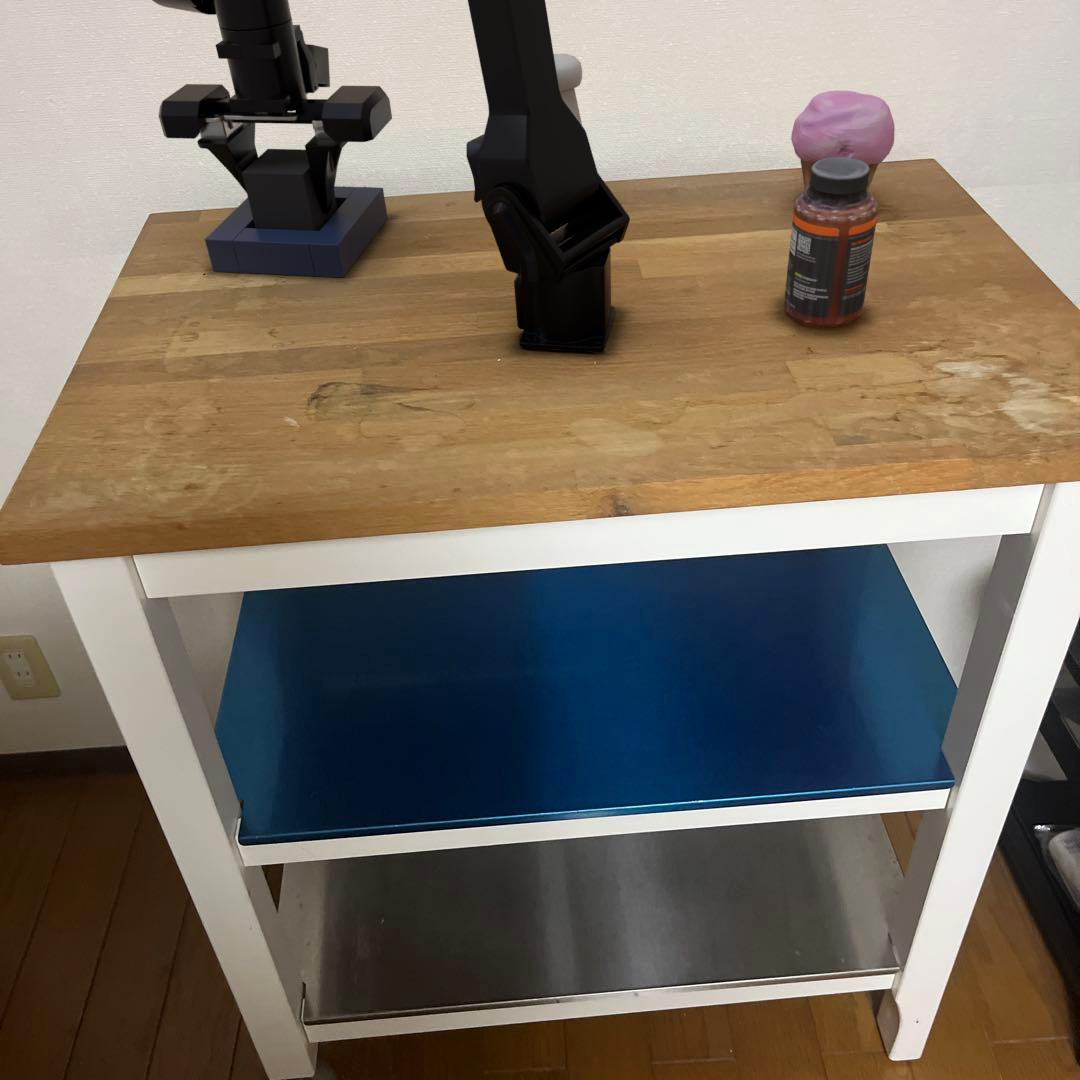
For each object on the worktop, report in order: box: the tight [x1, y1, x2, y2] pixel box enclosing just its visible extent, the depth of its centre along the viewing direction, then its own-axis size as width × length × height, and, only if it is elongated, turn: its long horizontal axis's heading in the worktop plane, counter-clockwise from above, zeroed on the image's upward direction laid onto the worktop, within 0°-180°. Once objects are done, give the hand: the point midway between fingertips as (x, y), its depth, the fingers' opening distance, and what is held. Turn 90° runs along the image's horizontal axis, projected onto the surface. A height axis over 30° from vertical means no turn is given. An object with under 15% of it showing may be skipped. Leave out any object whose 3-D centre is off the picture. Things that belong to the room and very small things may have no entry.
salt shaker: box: [553, 53, 583, 126], centre depth 94 cm, size 6×6×13 cm
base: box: [204, 185, 389, 278], centre depth 93 cm, size 12×12×3 cm
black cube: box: [242, 148, 338, 231], centre depth 91 cm, size 6×6×6 cm
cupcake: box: [790, 90, 896, 192], centre depth 91 cm, size 9×9×10 cm
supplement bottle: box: [783, 157, 879, 328], centre depth 76 cm, size 6×6×11 cm
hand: (296, 210), depth 92 cm, fingers closed on black cube, 5 cm apart
